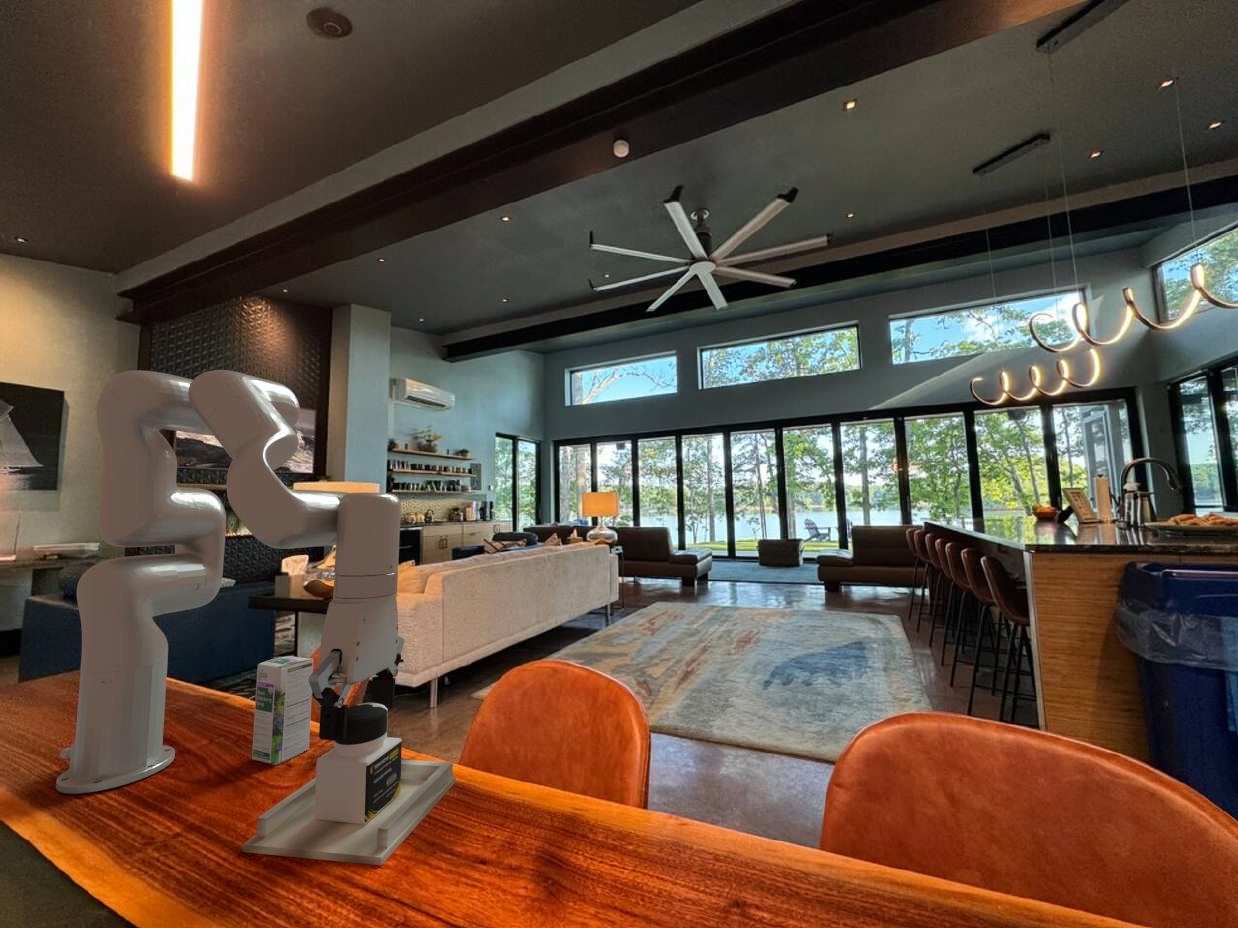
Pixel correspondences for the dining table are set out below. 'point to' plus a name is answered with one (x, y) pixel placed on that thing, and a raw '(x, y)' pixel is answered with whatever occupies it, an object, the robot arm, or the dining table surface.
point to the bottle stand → (372, 843)
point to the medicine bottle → (359, 769)
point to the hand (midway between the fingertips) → (359, 722)
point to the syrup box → (282, 709)
